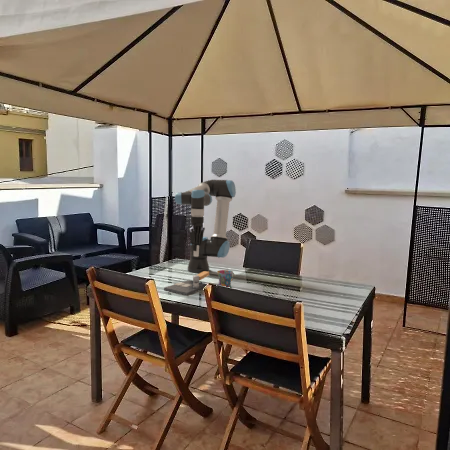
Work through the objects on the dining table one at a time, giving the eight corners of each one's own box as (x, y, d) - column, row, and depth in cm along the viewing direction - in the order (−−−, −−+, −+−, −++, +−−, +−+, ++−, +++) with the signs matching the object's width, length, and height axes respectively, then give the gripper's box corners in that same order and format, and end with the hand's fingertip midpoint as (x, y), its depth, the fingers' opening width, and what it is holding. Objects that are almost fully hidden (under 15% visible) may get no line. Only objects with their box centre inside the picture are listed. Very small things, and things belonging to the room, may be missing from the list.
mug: (224, 293, 215) (224, 274, 213) (213, 289, 221) (213, 271, 220) (239, 289, 223) (239, 271, 222) (228, 286, 230) (228, 268, 228)
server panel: (189, 282, 235) (189, 274, 234) (210, 287, 226) (210, 278, 225) (164, 290, 217) (164, 281, 216) (186, 295, 208) (186, 286, 207)
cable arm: (209, 275, 231) (209, 270, 231) (197, 282, 215) (197, 277, 215) (203, 275, 232) (203, 270, 232) (191, 281, 216) (192, 276, 216)
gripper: (199, 215, 232) (197, 254, 234) (185, 216, 221) (184, 256, 223) (209, 216, 228) (207, 255, 230) (195, 217, 217) (194, 258, 219)
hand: (196, 256), depth 226 cm, fingers closed
